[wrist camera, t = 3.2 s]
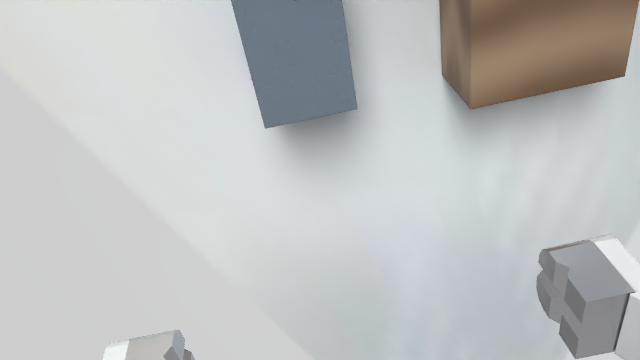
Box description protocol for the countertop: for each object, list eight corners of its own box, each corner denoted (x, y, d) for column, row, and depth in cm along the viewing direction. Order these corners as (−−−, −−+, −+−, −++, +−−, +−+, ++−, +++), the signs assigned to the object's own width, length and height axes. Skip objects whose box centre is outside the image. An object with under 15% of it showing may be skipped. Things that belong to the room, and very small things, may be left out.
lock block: (226, -53, 28) (223, -28, 23) (317, -72, 28) (334, -51, 23) (261, 82, 32) (265, 128, 27) (339, 66, 32) (357, 108, 27)
